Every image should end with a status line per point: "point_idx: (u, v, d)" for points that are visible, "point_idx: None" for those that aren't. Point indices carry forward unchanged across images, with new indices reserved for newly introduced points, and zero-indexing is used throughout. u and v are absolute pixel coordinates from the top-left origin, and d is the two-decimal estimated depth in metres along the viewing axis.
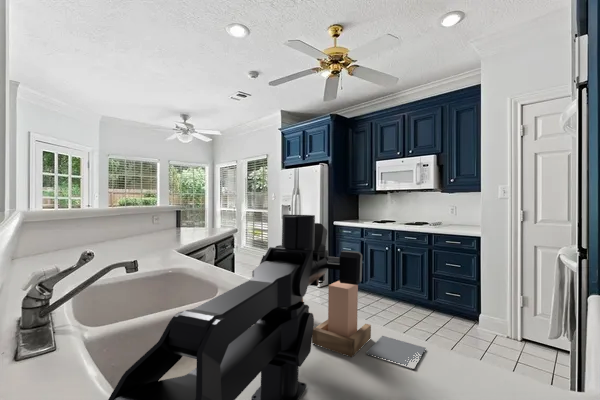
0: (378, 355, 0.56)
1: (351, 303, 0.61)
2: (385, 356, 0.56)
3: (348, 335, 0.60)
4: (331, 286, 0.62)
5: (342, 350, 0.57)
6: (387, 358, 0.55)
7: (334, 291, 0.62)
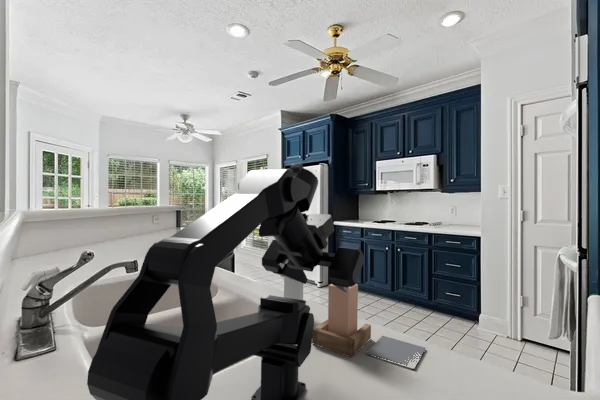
0: (378, 355, 0.56)
1: (351, 303, 0.61)
2: (385, 356, 0.56)
3: (348, 335, 0.60)
4: (331, 286, 0.62)
5: (342, 350, 0.57)
6: (387, 358, 0.55)
7: (334, 291, 0.62)
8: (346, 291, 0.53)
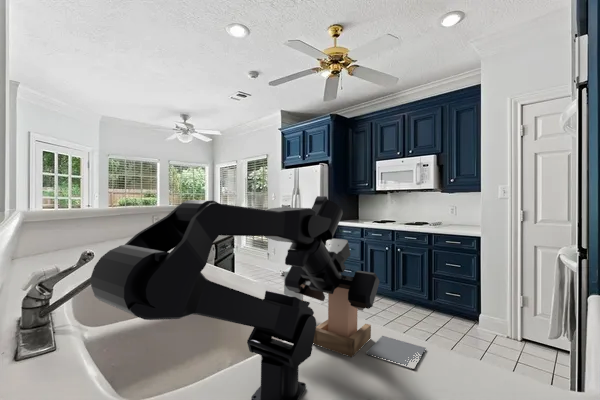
0: (378, 355, 0.56)
1: None
2: (385, 356, 0.56)
3: (348, 335, 0.60)
4: None
5: (342, 350, 0.57)
6: (387, 358, 0.55)
7: (334, 291, 0.62)
8: (362, 310, 0.59)
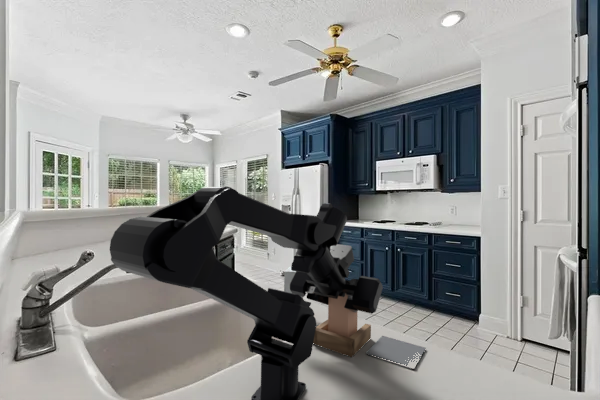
0: (378, 355, 0.56)
1: None
2: (385, 356, 0.56)
3: (348, 335, 0.60)
4: None
5: (342, 350, 0.57)
6: (387, 358, 0.55)
7: None
8: (355, 312, 0.61)
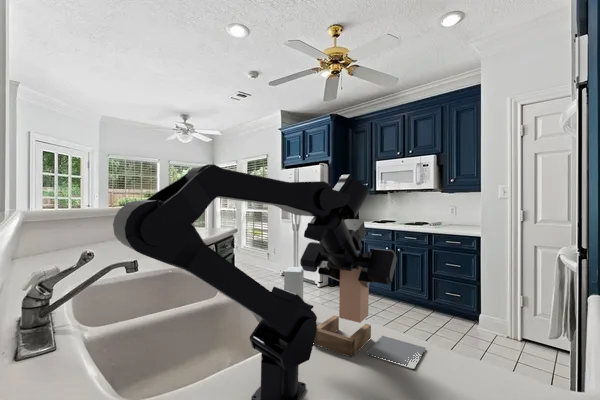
0: (378, 355, 0.56)
1: None
2: (385, 356, 0.56)
3: (360, 309, 0.59)
4: None
5: (342, 350, 0.57)
6: (387, 358, 0.55)
7: None
8: (368, 286, 0.60)
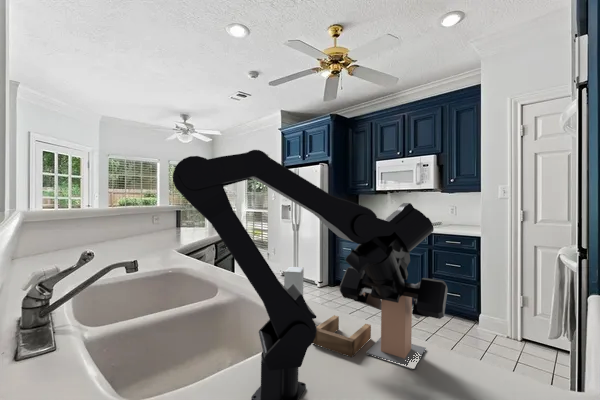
0: (378, 355, 0.56)
1: (407, 309, 0.57)
2: (385, 356, 0.56)
3: (405, 344, 0.56)
4: None
5: (342, 350, 0.57)
6: (387, 358, 0.55)
7: None
8: None
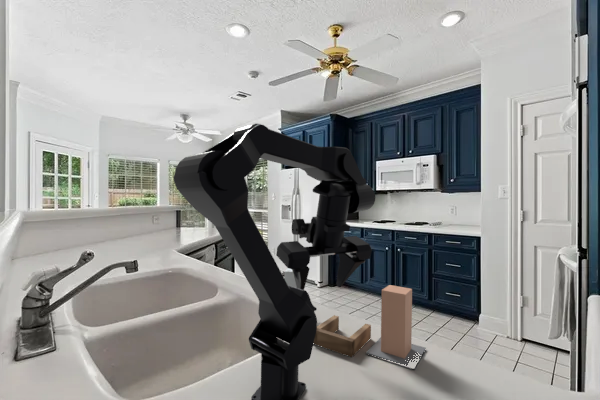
0: (378, 355, 0.56)
1: (407, 309, 0.57)
2: (385, 356, 0.56)
3: (405, 344, 0.56)
4: (385, 291, 0.58)
5: (342, 350, 0.57)
6: (387, 358, 0.55)
7: (388, 296, 0.57)
8: (344, 282, 0.61)
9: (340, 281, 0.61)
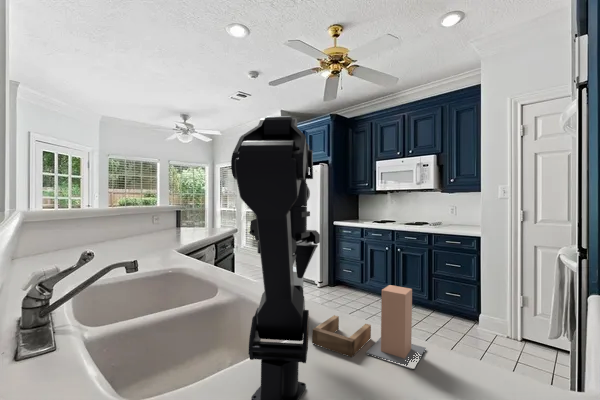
0: (378, 355, 0.56)
1: (407, 309, 0.57)
2: (385, 356, 0.56)
3: (405, 344, 0.56)
4: (385, 291, 0.58)
5: (342, 350, 0.57)
6: (387, 358, 0.55)
7: (388, 296, 0.57)
8: (304, 272, 0.64)
9: (301, 271, 0.64)
